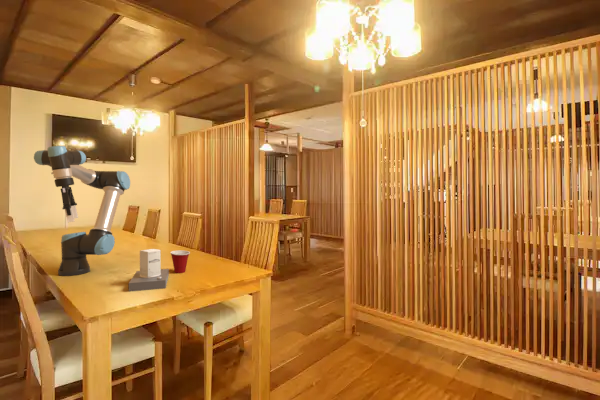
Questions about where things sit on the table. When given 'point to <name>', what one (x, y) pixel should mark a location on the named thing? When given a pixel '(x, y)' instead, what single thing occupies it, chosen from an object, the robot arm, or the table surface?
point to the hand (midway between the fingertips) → (73, 220)
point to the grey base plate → (149, 281)
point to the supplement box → (150, 262)
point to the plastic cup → (180, 260)
